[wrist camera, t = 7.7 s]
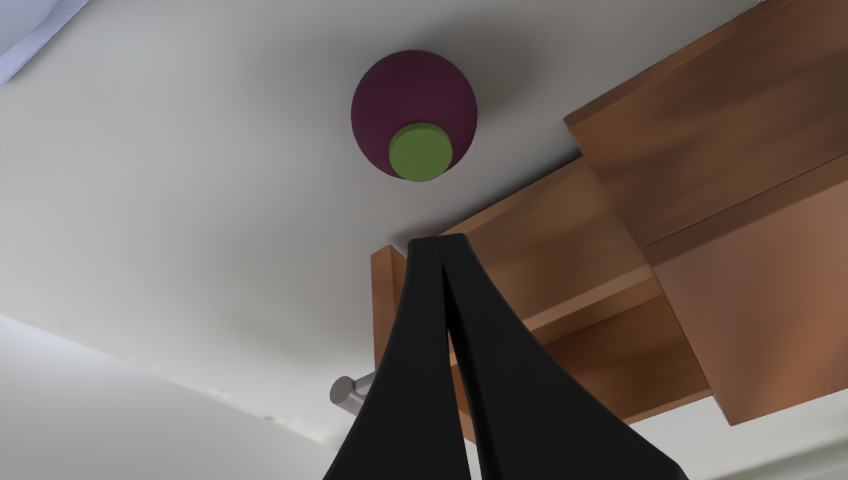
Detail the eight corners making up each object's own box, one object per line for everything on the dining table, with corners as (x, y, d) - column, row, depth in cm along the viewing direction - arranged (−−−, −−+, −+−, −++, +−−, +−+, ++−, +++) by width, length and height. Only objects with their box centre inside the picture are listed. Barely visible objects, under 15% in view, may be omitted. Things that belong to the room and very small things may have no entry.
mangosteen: (326, 74, 18) (320, 145, 15) (425, 2, 17) (443, 61, 14) (395, 154, 21) (404, 229, 18) (485, 97, 20) (513, 167, 16)
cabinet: (650, 288, 29) (730, 427, 23) (562, 117, 21) (651, 267, 14) (913, 174, 25) (1096, 307, 19) (940, -102, 16) (1298, -23, 10)
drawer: (429, 392, 33) (443, 499, 28) (293, 297, 25) (279, 424, 20) (688, 280, 28) (760, 390, 23) (619, 114, 20) (706, 228, 15)
